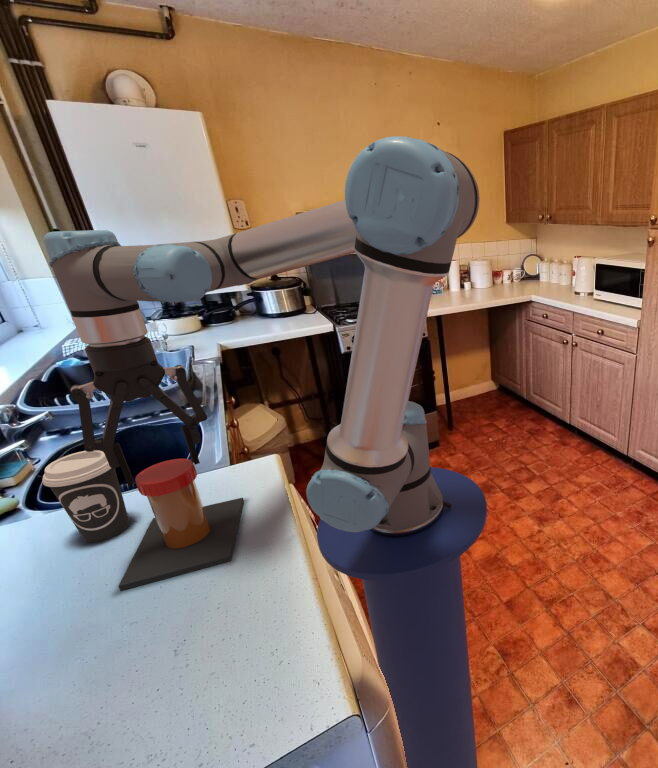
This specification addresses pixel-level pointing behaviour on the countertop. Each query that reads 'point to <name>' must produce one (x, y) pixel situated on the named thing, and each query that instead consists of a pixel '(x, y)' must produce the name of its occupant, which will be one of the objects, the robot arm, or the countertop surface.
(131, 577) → the mat
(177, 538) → the jar
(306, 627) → the countertop surface
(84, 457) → the coffee cup
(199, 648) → the countertop surface
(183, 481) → the lid
